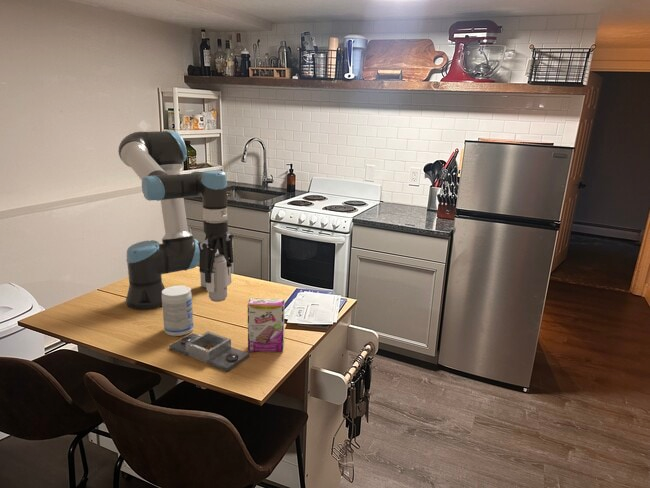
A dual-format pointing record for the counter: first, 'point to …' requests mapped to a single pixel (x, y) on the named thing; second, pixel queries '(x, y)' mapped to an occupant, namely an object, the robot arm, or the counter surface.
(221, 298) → the energy drink can
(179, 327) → the supplement tub
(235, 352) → the grey base plate
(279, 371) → the counter surface
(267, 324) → the candy bar box
